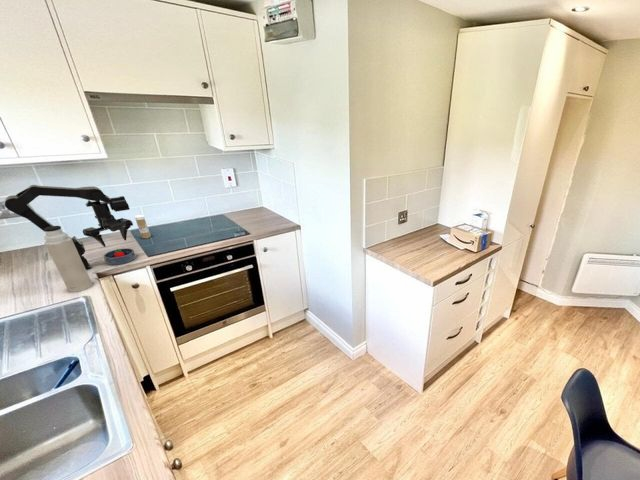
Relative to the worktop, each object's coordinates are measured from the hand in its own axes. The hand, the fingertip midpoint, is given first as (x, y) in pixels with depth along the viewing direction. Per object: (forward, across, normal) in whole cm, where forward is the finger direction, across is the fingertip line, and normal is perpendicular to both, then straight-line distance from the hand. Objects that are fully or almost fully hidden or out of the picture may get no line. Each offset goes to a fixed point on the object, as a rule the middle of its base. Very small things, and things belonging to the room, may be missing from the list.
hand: (115, 243), depth 161 cm
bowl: (+9, 0, 0) cm, 9 cm away
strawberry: (+9, 0, 0) cm, 9 cm away
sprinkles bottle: (+10, +25, +20) cm, 33 cm away
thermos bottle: (+10, -24, -13) cm, 29 cm away
